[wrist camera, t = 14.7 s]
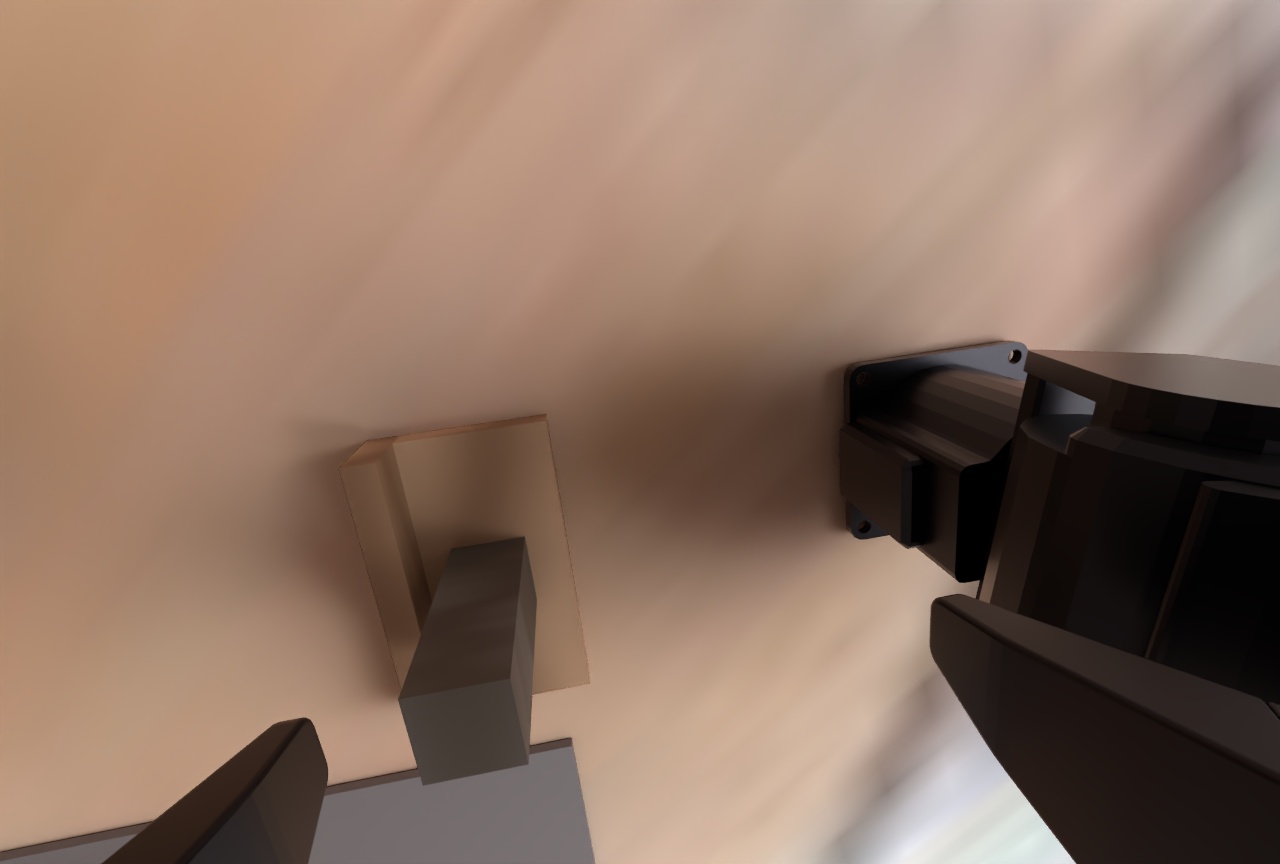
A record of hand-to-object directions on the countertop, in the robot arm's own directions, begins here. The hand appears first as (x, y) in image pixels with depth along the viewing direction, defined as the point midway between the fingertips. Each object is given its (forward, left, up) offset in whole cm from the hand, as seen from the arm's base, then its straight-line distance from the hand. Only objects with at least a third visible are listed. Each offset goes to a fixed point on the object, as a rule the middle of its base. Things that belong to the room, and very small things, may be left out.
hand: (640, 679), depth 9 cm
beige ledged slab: (+4, +4, -12) cm, 13 cm away
